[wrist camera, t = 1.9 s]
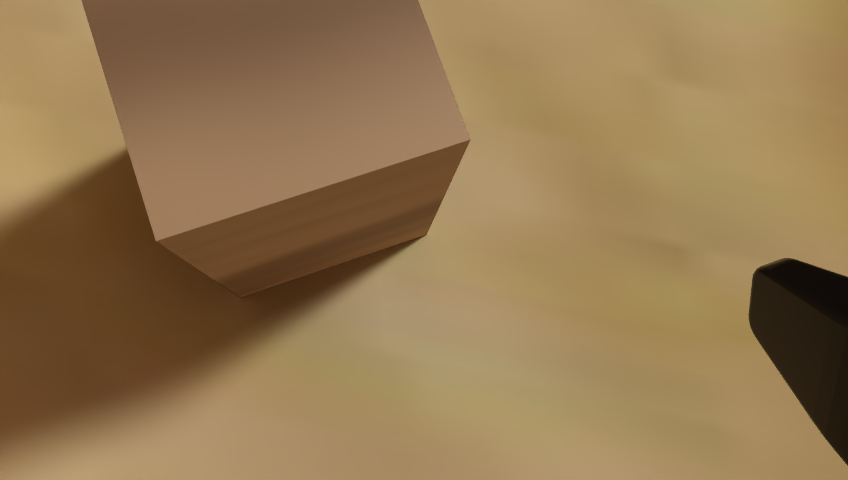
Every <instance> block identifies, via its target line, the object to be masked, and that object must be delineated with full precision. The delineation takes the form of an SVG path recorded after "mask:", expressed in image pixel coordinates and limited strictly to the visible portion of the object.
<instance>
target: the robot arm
mask: <svg viewBox="0 0 848 480" xmlns="http://www.w3.org/2000/svg"><path fill="white" fill-rule="evenodd" d="M749 323H750V326H751V329H752V331H753V334H754V335H755V337H756V338H757V340H758V341H759V343H760V344H761V346H762V347H763V349H764V350H765V352H766V353H767V355H768V356H769V358H770V359H771V361H772V362H773V363H774V365H775V366H776V368H777V369H778V371H779V372H780V374H781V375H782V377H783V378H784V380H785V381H786V383H787V384H788V386H789V387H790V388H791V390H792V391H793V393H794V394H795V396H796V397H797V399H798V400H799V402H800V403H801V405H802V406H803V408H804V409H805V411H806V412H807V413H808V415H809V416H810V418H811V419H812V421H813V422H814V424H815V425H816V426H817V428H818V429H819V430H820V432H821V433H822V435H823V436H824V437H825V439H826V440H827V441H828V442H829V444H830V445H831V446H832V447H833V448H834V450H835V451H836V452H837V453H838V455H839V456H840V457H841V458H842V459H843V461H844V462H845V463H846V464H847V465H848V277H846V276H843V275H840V274H837V273H834V272H831V271H828V270H825V269H822V268H819V267H816V266H814V265H811V264H808V263H805V262H802V261H799V260H795V259H791V258H784V259H780V260H777V261H774V262H772V263H769V264H766V265H763V266H761V267H759V268H757V269H756V271H755V272H754V274H753V278H752V288H751V297H750V307H749Z"/></svg>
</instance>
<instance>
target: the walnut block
mask: <svg viewBox="0 0 848 480" xmlns="http://www.w3.org/2000/svg"><path fill="white" fill-rule="evenodd" d="M82 3H83V6H84V10H85V13H86V16H87V19H88V23H89V26H90V29H91V32H92V36H93V39H94V42H95V45H96V49H97V52H98V55H99V58H100V62H101V65H102V68H103V71H104V74H105V78H106V81H107V84H108V87H109V91H110V94H111V97H112V100H113V104H114V107H115V110H116V113H117V117H118V120H119V123H120V126H121V130H122V133H123V136H124V139H125V143H126V146H127V149H128V152H129V156H130V159H131V162H132V165H133V169H134V172H135V175H136V178H137V182H138V185H139V188H140V191H141V195H142V198H143V201H144V204H145V208H146V211H147V214H148V217H149V221H150V224H151V227H152V230H153V234H154V237H155V240H156V242H158V243H159V244H161V245H162V246H164V247H165V248H167V249H168V250H170V251H171V252H173V253H174V254H176V255H177V256H179V257H180V258H182V259H183V260H185V261H186V262H188V263H189V264H191V265H192V266H194V267H195V268H197V269H198V270H200V271H201V272H203V273H204V274H206V275H207V276H209V277H210V278H212V279H213V280H215V281H216V282H218V283H219V284H221V285H222V286H224V287H225V288H227V289H228V290H230V291H231V292H233V293H234V294H236V295H237V296H239V297H240V298H241V297H244V296H247V295H250V294H253V293H256V292H259V291H262V290H265V289H268V288H271V287H273V286H276V285H279V284H282V283H285V282H288V281H291V280H294V279H297V278H300V277H303V276H306V275H309V274H312V273H315V272H318V271H321V270H324V269H327V268H330V267H333V266H336V265H339V264H342V263H344V262H347V261H350V260H353V259H356V258H359V257H362V256H365V255H368V254H371V253H374V252H377V251H380V250H383V249H386V248H389V247H392V246H395V245H398V244H401V243H404V242H407V241H410V240H413V239H416V238H418V237H421V236H424V235H427V232H428V230H429V228H430V226H431V224H432V222H433V219H434V217H435V215H436V213H437V211H438V209H439V206H440V204H441V202H442V200H443V198H444V196H445V194H446V191H447V189H448V187H449V185H450V183H451V181H452V178H453V176H454V174H455V172H456V170H457V168H458V165H459V163H460V161H461V159H462V157H463V155H464V152H465V150H466V148H467V146H468V144H469V142H470V137H469V134H468V132H467V129H466V127H465V124H464V121H463V119H462V116H461V113H460V111H459V108H458V105H457V103H456V100H455V97H454V95H453V92H452V89H451V87H450V84H449V81H448V79H447V76H446V73H445V71H444V68H443V65H442V63H441V60H440V57H439V55H438V52H437V50H436V47H435V44H434V42H433V39H432V36H431V34H430V31H429V28H428V26H427V23H426V20H425V18H424V15H423V12H422V10H421V7H420V4H419V2H418V0H82Z"/></svg>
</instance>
